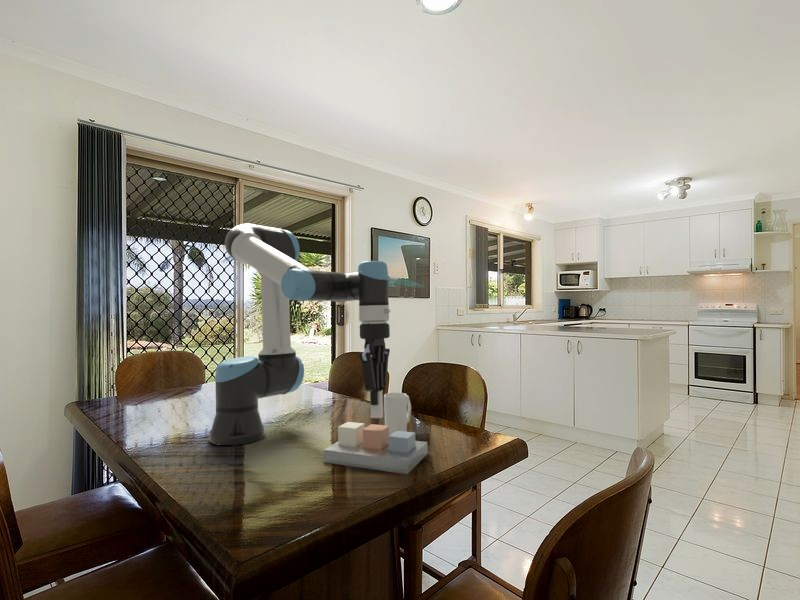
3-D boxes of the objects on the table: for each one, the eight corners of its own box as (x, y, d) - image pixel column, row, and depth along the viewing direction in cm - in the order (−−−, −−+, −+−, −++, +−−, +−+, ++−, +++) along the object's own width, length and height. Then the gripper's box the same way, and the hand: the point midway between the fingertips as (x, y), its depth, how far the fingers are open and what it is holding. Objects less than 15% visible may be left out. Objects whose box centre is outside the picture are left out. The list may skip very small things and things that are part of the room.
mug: (396, 441, 115) (395, 398, 115) (379, 436, 119) (379, 395, 120) (419, 432, 122) (418, 392, 122) (403, 428, 127) (402, 390, 127)
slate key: (388, 457, 97) (388, 436, 98) (397, 450, 102) (396, 430, 102) (408, 459, 96) (407, 438, 96) (415, 453, 100) (415, 432, 100)
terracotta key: (362, 449, 100) (362, 429, 100) (371, 443, 105) (371, 424, 105) (381, 452, 98) (380, 431, 98) (389, 445, 103) (389, 425, 103)
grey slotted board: (323, 462, 99) (323, 449, 99) (351, 444, 112) (351, 433, 112) (407, 474, 91) (407, 460, 91) (427, 453, 104) (427, 441, 104)
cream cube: (338, 446, 103) (337, 426, 103) (348, 440, 107) (347, 421, 108) (355, 448, 101) (355, 428, 101) (365, 442, 106) (364, 423, 106)
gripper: (376, 323, 95) (379, 425, 94) (398, 321, 107) (400, 412, 106) (348, 323, 98) (350, 422, 97) (372, 322, 110) (374, 410, 109)
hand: (376, 417), depth 102 cm, fingers closed
